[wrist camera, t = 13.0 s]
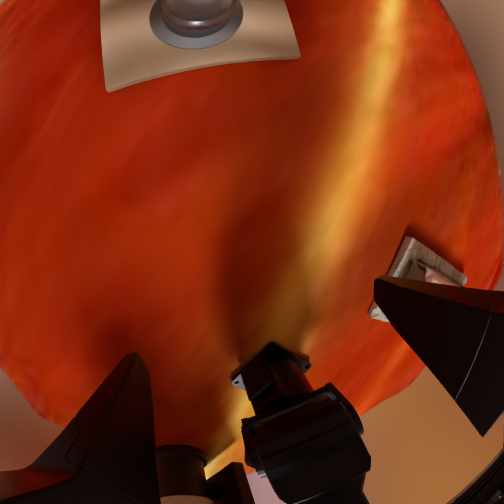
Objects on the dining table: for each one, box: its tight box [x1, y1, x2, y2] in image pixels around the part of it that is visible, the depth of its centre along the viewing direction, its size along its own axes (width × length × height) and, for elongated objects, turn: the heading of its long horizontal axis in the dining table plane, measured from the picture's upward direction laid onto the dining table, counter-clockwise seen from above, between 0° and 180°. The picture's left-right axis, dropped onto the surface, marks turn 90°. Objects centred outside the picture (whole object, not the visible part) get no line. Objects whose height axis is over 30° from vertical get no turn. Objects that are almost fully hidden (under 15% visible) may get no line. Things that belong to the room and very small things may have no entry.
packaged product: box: [368, 236, 467, 322], centre depth 28 cm, size 18×5×10 cm
